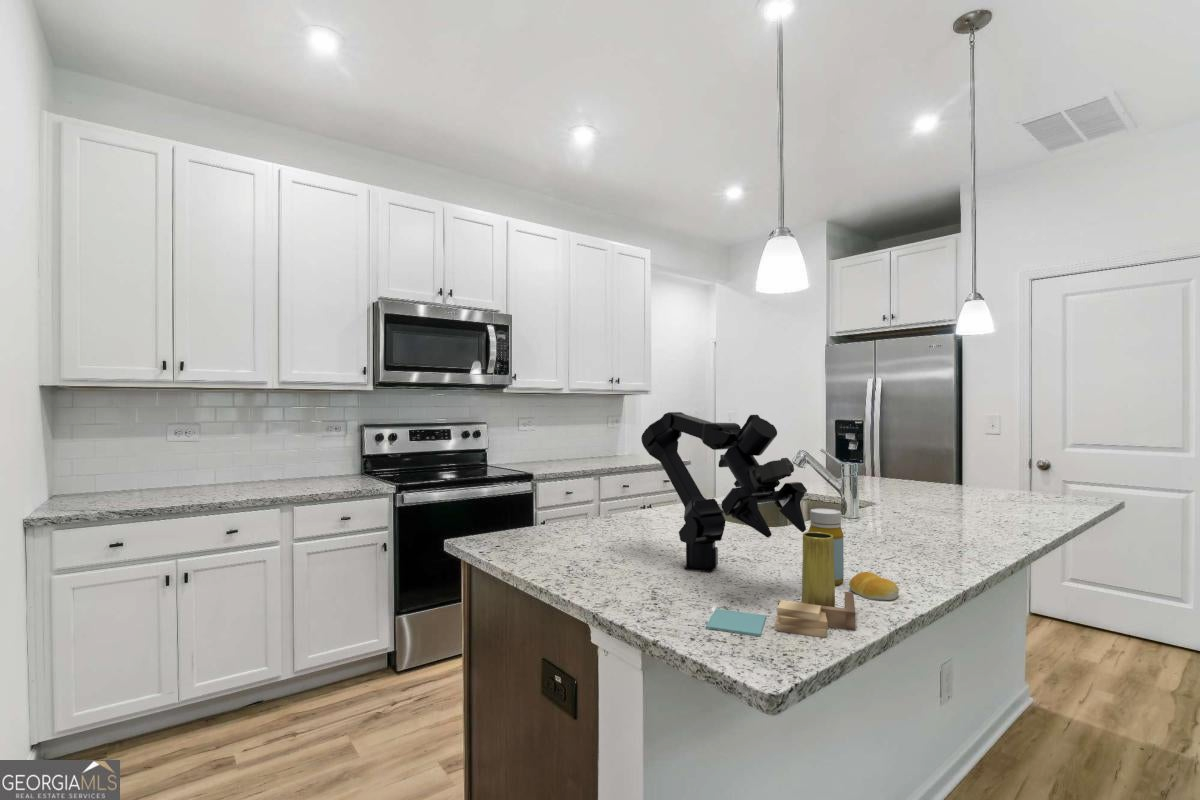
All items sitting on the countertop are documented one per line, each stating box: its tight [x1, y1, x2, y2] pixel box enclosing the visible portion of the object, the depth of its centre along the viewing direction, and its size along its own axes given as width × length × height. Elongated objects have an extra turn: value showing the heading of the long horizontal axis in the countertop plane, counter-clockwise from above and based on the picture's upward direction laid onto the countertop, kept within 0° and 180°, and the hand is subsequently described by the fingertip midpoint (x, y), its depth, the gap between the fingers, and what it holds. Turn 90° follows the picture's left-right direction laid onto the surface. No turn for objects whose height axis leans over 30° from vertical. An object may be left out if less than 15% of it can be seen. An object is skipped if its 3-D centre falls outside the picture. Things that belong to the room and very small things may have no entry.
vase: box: [800, 531, 836, 607], centre depth 105 cm, size 6×6×14 cm
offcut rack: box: [774, 591, 856, 638], centre depth 102 cm, size 12×16×4 cm
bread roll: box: [848, 571, 900, 601], centre depth 116 cm, size 8×9×4 cm
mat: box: [705, 608, 767, 637], centre depth 101 cm, size 9×9×1 cm
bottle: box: [807, 507, 845, 586], centre depth 124 cm, size 7×7×15 cm
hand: (787, 533), depth 111 cm, fingers open, 9 cm apart
